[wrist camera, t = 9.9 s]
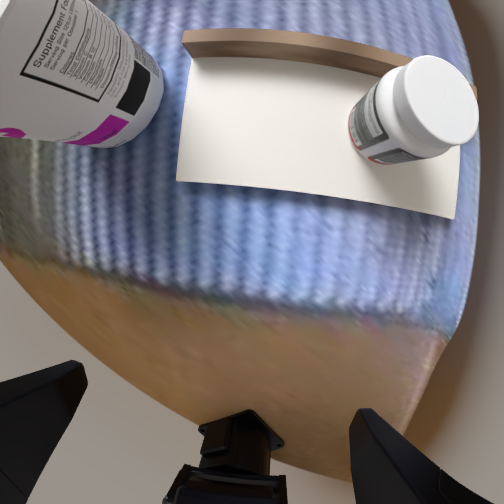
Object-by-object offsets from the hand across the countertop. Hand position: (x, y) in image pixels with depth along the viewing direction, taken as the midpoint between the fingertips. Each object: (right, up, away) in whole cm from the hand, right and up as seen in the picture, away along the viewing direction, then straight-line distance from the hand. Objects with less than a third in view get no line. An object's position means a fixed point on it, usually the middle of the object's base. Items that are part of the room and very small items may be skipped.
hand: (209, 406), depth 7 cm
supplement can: (-9, +17, +11) cm, 22 cm away
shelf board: (+7, +13, +10) cm, 18 cm away
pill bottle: (+10, +13, +9) cm, 18 cm away
